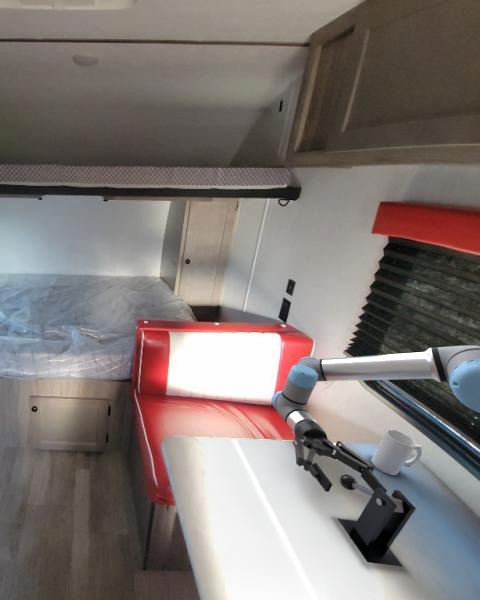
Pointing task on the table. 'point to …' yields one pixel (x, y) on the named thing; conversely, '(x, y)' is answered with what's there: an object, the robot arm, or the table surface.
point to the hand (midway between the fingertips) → (356, 491)
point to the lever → (366, 490)
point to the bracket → (379, 527)
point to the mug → (395, 452)
